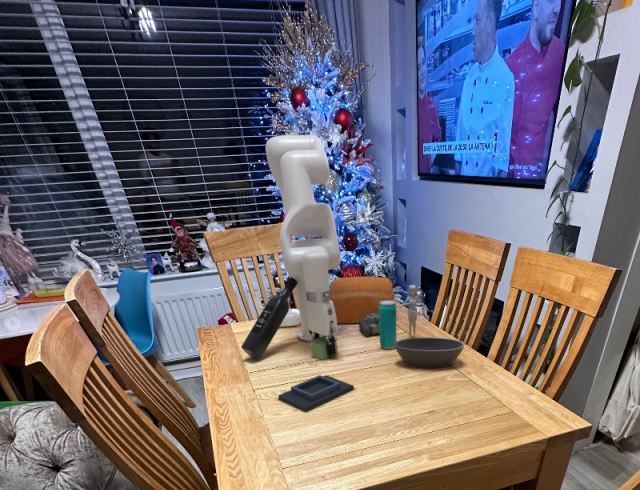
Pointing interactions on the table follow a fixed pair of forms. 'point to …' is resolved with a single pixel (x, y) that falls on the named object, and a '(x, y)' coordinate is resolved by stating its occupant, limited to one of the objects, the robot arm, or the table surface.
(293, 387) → the black pad
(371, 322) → the toy tank
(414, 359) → the bowl
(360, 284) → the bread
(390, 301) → the beverage can
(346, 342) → the table surface
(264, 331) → the wine bottle
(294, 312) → the earbud case
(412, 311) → the human figurine
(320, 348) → the green block
